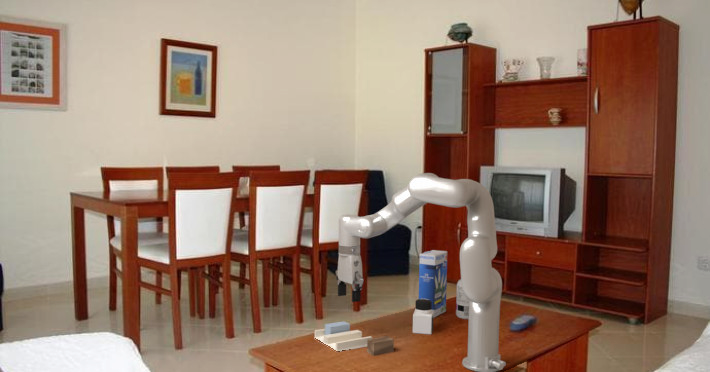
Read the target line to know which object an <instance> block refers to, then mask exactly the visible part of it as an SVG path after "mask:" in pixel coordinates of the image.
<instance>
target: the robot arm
mask: <svg viewBox="0 0 710 372" xmlns="http://www.w3.org/2000/svg"><path fill="white" fill-rule="evenodd" d="M427 204H431V205H432V204H433V205H438V206H444V207H448V208H462V207H466V209H467V219H466V223H467V238H465V239H464V240H463V242H462V243H461V246H460V249H459V266H460V267H459V269H460V279H461V284H462V290H463V293H464V295H465V296H466V298H467V299H468V300H470V302H469V319H468V326H467V327H468V329H467V331H468V333H467V356H466V357H464V358H463V359H462V362H461V363H462V366H463V367H464V368H466V369H467V370H471V371H474V372H499V371H501V370H503V368H504V367H505V366H506V365H507V363H506V361H504V360H501V356H502V355H501V354H500V353H499V346H500V345H499V339H500V338H499V336H500V317H501V316H500V315H501V314H500V313H501V312H500V311H501V298H502V291H503V280H502V276H501V275H500V274H501V273H499V271H498V270H497V269H496V268H494V267H492V261H493V259H495V257H496V255H497V253H498V244H497V243H498V242H497V231H496V228H497V227H496V221H495V220H496V219H495V217H496V216H495V207H494V201H493V197H492V196H491V193H490V192H489V190H488V188H486V187H485V186H484V185H483V184H481V183H480V182H478V181H475V180H473V179H470V178H460V179H450V178H443V177H439V176H438V175H437V174H435V173H432V172H425V173H417V174H415V175H414V176H412V177H411V179H409V182H408V184H407V185H406V186H404V187H403V188H401V189H399V190H398V191H397V192H395V193H394V194H393V195H392V198H391V201H390V202H389V203H388V204H387V205H386V206H384V207H383V208H382V209H380V210H379V211H377V212H375V213H374V214H370V215H369V214H368V215H365V216H359V215H356V214H342V215H340V216H339V218H338V261H337V269H336V270H335V276H336V281H337V282H336V285H337V296H338V297H341V296H343V297H344V296H347V284H349V285H351V288H352V290H351V302H352V303H357V302H361V301H362V299H361V295H362V294H361V292H362V288H363V284H364V278H363V262H362V256H361V238H362V239H370V238H374V237H377V236H380V235H382V234H385V233H386V232H387V231H389V230H391V229H393V227H395V226H397V225H398V224H400V222H403V220H405V219H406V218H408V217H409V216H410V215H411V214H413V213H414V212H416V211H417V210H419V209H420V208H422V207H424V206H426V205H427Z"/></svg>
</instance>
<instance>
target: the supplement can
mask: <svg viewBox="0 0 710 372" xmlns="http://www.w3.org/2000/svg"><path fill="white" fill-rule="evenodd" d="M455 297H456V299H455V300H456V302H455V305H456V307H455V315H456V316H457V318H459V319H461V320H462V319H463V320H469V302H470V300H468V299H467V298H466V296H465V295H464V293H463V290H462V284H461V278H460V279H458V281H457V283H456V296H455Z"/></svg>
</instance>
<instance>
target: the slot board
mask: <svg viewBox="0 0 710 372" xmlns="http://www.w3.org/2000/svg"><path fill="white" fill-rule="evenodd" d="M315 338H316V339H318V340H320V341H321V342H323V343H324V344H326V345H328V346H330V347H331V348H333V349H334V350H336V351H340V352H343V351H342V350H346V351H350V350H349V349H351V350H356V349H360V348H367V340H368V339H373V337H372V336H371V335H370V336H364V337H363V331H361V330H359V329H355V330H350V331H347V332H341V333H335V334H329V335H325V328H321V329H315V330H314V339H315ZM316 339H315V340H316ZM321 342H320V343H321ZM323 343H322V344H323ZM324 344H323V345H324ZM326 345H325V346H326ZM328 346H327V347H328ZM331 348H330V349H331ZM333 349H332V350H333ZM334 350H333V351H334ZM336 351H335V352H336Z"/></svg>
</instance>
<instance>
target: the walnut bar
mask: <svg viewBox="0 0 710 372" xmlns="http://www.w3.org/2000/svg"><path fill="white" fill-rule="evenodd" d="M394 341H395V339H394V338H392V337H390V336H388V335H385V336H380V337H374V338H373V337H372V339H368V340H367V347H366V348H367V349H366V353H368V354H369V355H371V356H373V357H374V356H381V355H384V354H390V353H394V348H395V347H394V345H395V344H394Z"/></svg>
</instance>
